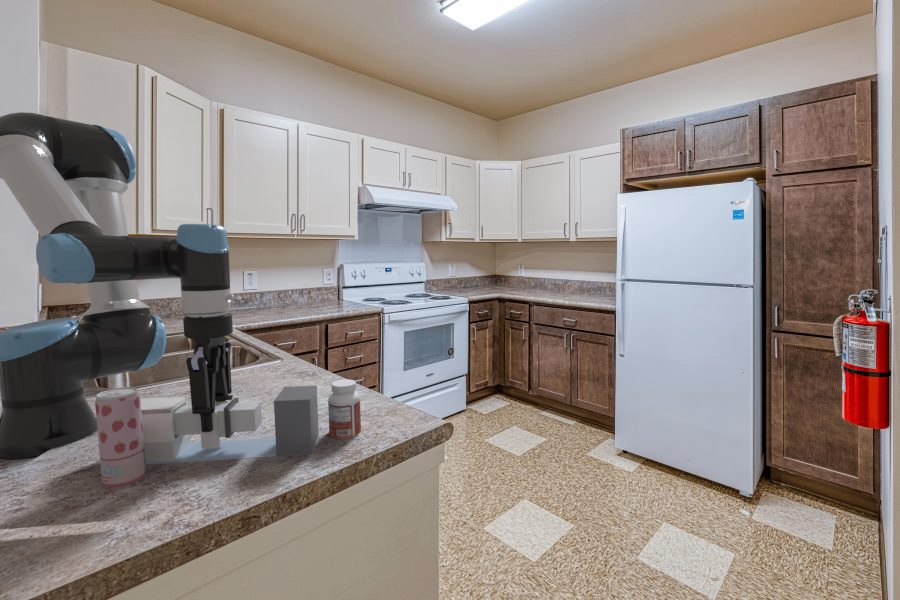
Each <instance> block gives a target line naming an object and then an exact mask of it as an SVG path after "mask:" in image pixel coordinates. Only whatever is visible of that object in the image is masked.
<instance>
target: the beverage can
mask: <svg viewBox="0 0 900 600" xmlns="http://www.w3.org/2000/svg"><path fill="white" fill-rule="evenodd" d="M140 398H141V395H140V393H139V389H138V388H137V387H135V386H134V387H131V386H125V387H124V386H123V387H115V388H112V389H111V388H110V389H108V390H103V391H101V392H99V393H97V394H96V396H95V402H94V406H95V417H96V419H97V430H96V431H97V441H98V451H99V460H100V461H99V462H100V463H99V464H100V472H101V473H100V474H101V482H102V483H101V484H102V485H103V486H104V487H108V488H115V487H122V486H126V485H129V484H132V483H135V482H138V481H139V480H141V479H143V478H144V477H145V476H146V475H147V465H146V459H145V448H144V437H143V425H142V414H141V402H140Z"/></svg>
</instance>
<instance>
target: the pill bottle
mask: <svg viewBox="0 0 900 600" xmlns="http://www.w3.org/2000/svg"><path fill="white" fill-rule="evenodd" d="M356 389H357V382H356V380H354V379H339V380H335V381H333V382H332V383H331V392H332V393H331V394H330V395H329V396H328V397H327V398H328V399H327V403H328V408H327V409H328V428H329V430H328V431H329V432H328V433H329V436H330V437H331V438H336V439H350V438H353V437H356V436H358V435H359V434H361V432H362V423H361V422H362V420H361V419H362V418H361V417H362V416H361V396H360V393H358V392H357V391H356Z"/></svg>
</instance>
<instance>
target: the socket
mask: <svg viewBox="0 0 900 600" xmlns="http://www.w3.org/2000/svg"><path fill="white" fill-rule="evenodd" d="M318 404H319V403H318V385H299V386H284V387H283V388H282V390H281V391H280V393H278V395H277V396H276V397H275V398H274V400H273V410H274V432H275V434H274V435H275V438H276V456H275V457H287V456H286V455H290V456H303V455H302V454H306V455H312V454H313V451H314V449H315V447H316V443H317V441H318V438H319V436H318V435H319V434H320V433H319V412H318V410H319V407H318V406H319V405H318ZM314 446H315V447H314Z"/></svg>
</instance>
